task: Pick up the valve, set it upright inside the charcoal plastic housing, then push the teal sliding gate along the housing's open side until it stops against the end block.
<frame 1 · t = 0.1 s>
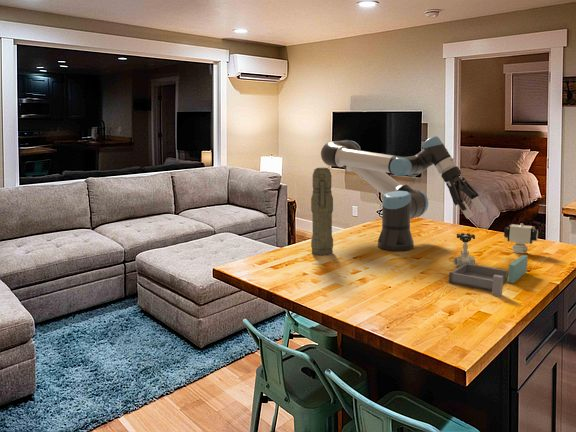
hand: (476, 214, 197), 15 cm above the kitchen island, tool tilted 35°, fingers open, 13 cm apart
valve: (464, 267, 179), on the kitchen island
housing: (477, 281, 162), on the kitchen island
gate: (518, 268, 164), point 3 cm above the kitchen island, slide at 12.0 cm
grey carved statue: (322, 253, 201), on the kitchen island
pneumatic valve: (519, 252, 197), on the kitchen island
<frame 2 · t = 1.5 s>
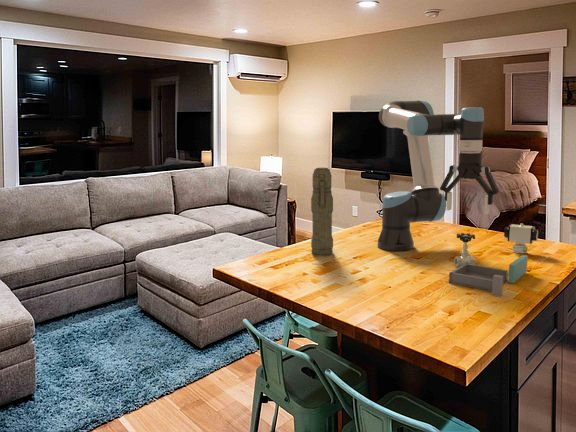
hand: (467, 211, 175), 20 cm above the kitchen island, tool pointing down, fingers open, 13 cm apart
nothing on the kitchen island moved.
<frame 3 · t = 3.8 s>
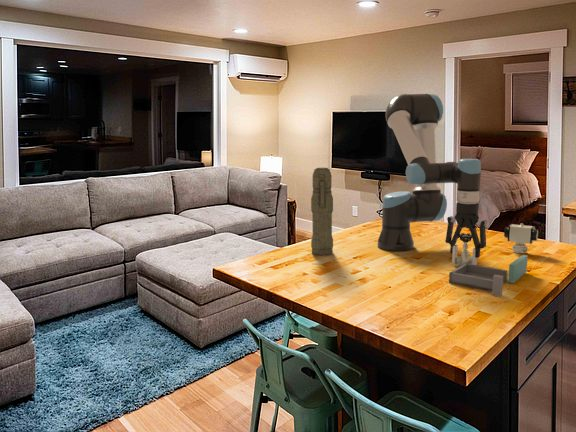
hand: (464, 264, 178), 1 cm above the kitchen island, tool pointing down, fingers closed on valve, 7 cm apart
valve: (464, 267, 179), on the kitchen island, touching gripper
everything else where it was.
when the fingers open (4 cm above the kitchen island, at t = 9.7 s): valve drops 2 cm, resting on housing.
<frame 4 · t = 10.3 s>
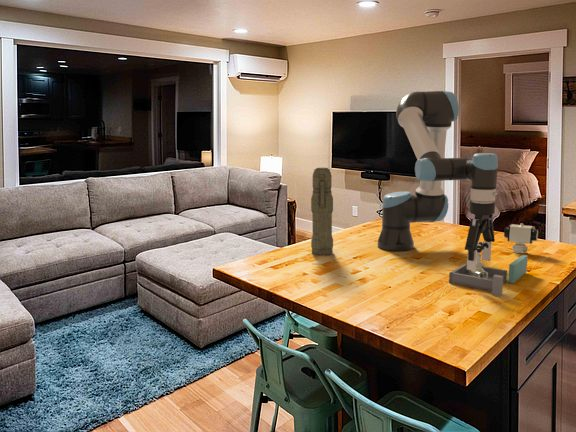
hand: (478, 265, 161), 6 cm above the kitchen island, tool pointing down, fingers open, 13 cm apart
valve: (478, 279, 162), point 1 cm above the kitchen island, touching housing
everything else where it was.
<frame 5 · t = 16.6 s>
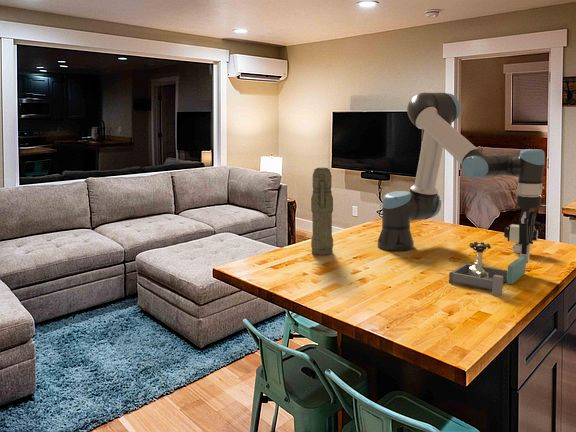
hand: (524, 262, 169), 4 cm above the kitchen island, tool pointing down, fingers closed
gate: (516, 269, 163), point 3 cm above the kitchen island, slide at 10.5 cm, touching gripper
everything else where it was.
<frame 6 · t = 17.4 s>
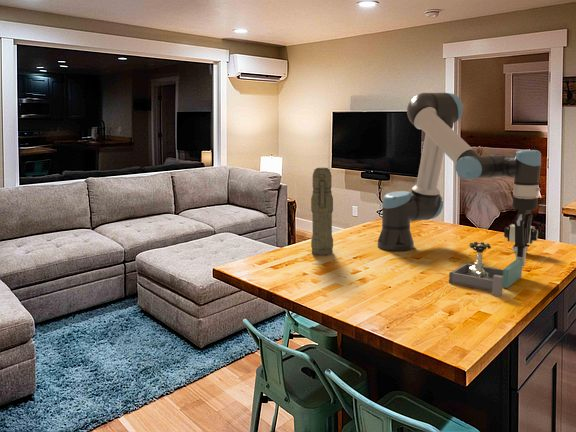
hand: (520, 265, 166), 4 cm above the kitchen island, tool pointing down, fingers closed
gate: (512, 272, 160), point 3 cm above the kitchen island, slide at 5.9 cm, touching gripper
everything else where it was.
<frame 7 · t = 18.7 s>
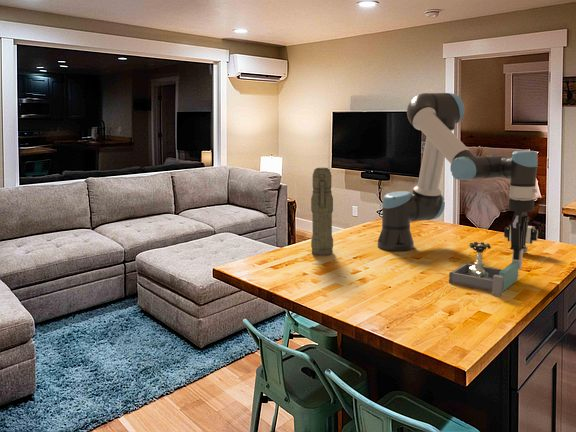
hand: (516, 268, 163), 4 cm above the kitchen island, tool pointing down, fingers closed
gate: (508, 275, 157), point 3 cm above the kitchen island, slide at 1.8 cm, touching gripper
everything else where it was.
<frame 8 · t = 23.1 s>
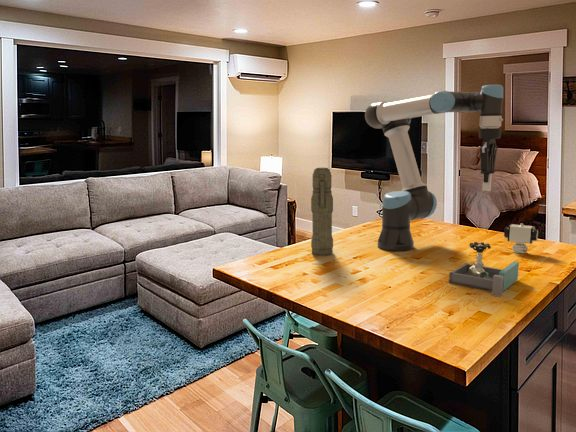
hand: (486, 190, 185), 26 cm above the kitchen island, tool pointing down, fingers closed
gate: (508, 275, 157), point 3 cm above the kitchen island, slide at 1.8 cm
everything else where it was.
at the end: valve inside the target area on the housing (0.4 cm from its centre), point 0.6 cm above the housing's base; valve tilted 0°; gate slide at 1.8 cm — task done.
